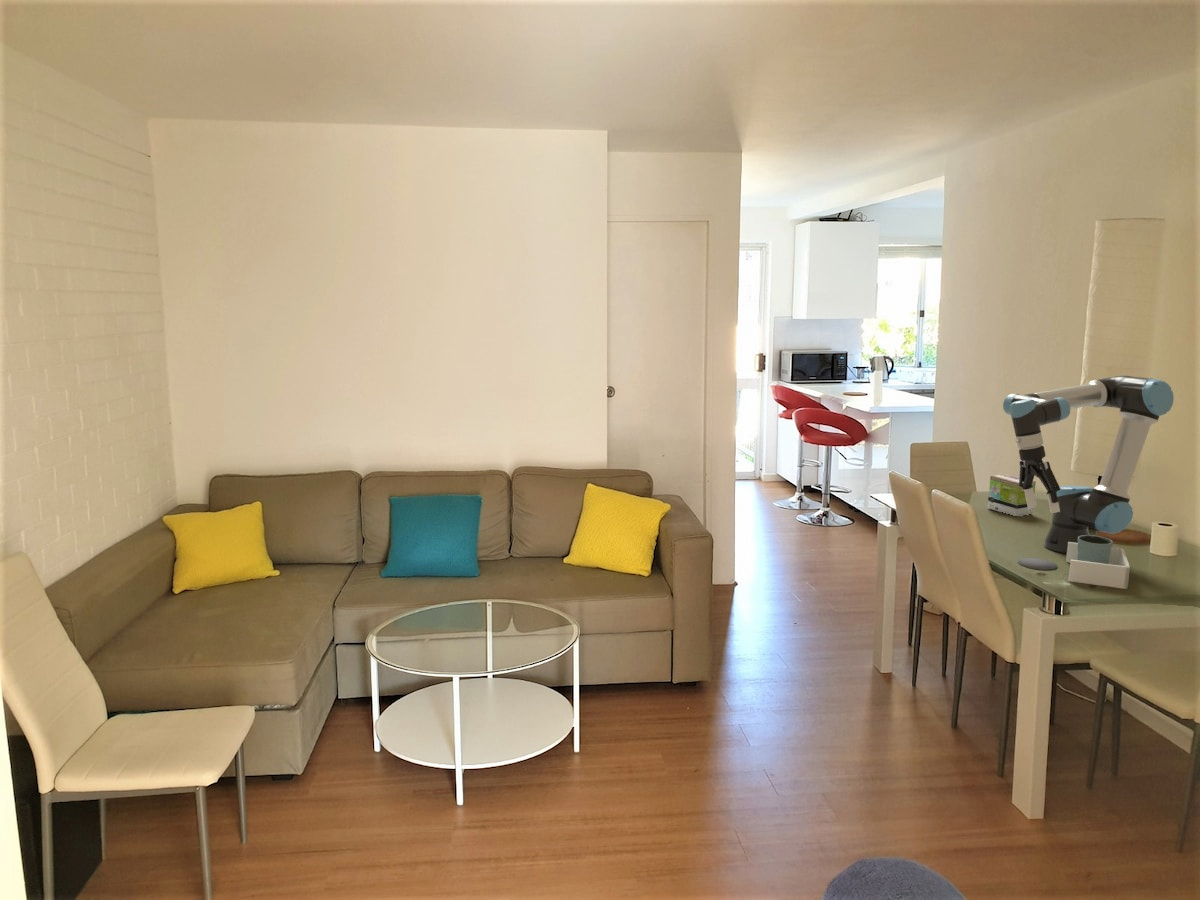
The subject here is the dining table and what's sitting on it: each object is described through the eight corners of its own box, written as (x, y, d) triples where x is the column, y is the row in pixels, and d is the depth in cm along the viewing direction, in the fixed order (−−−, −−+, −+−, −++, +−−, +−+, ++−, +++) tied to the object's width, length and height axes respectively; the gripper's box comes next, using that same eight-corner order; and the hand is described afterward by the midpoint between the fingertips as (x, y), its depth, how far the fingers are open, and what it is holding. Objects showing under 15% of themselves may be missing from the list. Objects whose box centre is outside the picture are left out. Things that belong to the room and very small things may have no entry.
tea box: (986, 509, 373) (989, 475, 370) (1003, 506, 377) (1006, 473, 375) (1016, 517, 360) (1019, 482, 357) (1033, 515, 364) (1036, 480, 361)
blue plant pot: (1100, 569, 294) (1104, 535, 292) (1114, 579, 284) (1118, 544, 282) (1068, 568, 295) (1072, 534, 293) (1081, 578, 285) (1085, 543, 283)
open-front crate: (1065, 561, 303) (1068, 541, 301) (1120, 568, 296) (1123, 548, 294) (1068, 581, 282) (1071, 560, 281) (1127, 589, 275) (1130, 567, 274)
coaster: (1018, 557, 307) (1018, 555, 307) (1056, 562, 302) (1056, 560, 302) (1017, 566, 296) (1017, 565, 296) (1057, 572, 291) (1057, 570, 291)
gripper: (1000, 448, 298) (1012, 508, 299) (1041, 451, 273) (1054, 517, 274) (1021, 443, 298) (1033, 503, 299) (1063, 445, 273) (1077, 511, 274)
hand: (1043, 510), depth 287 cm, fingers open, 13 cm apart
